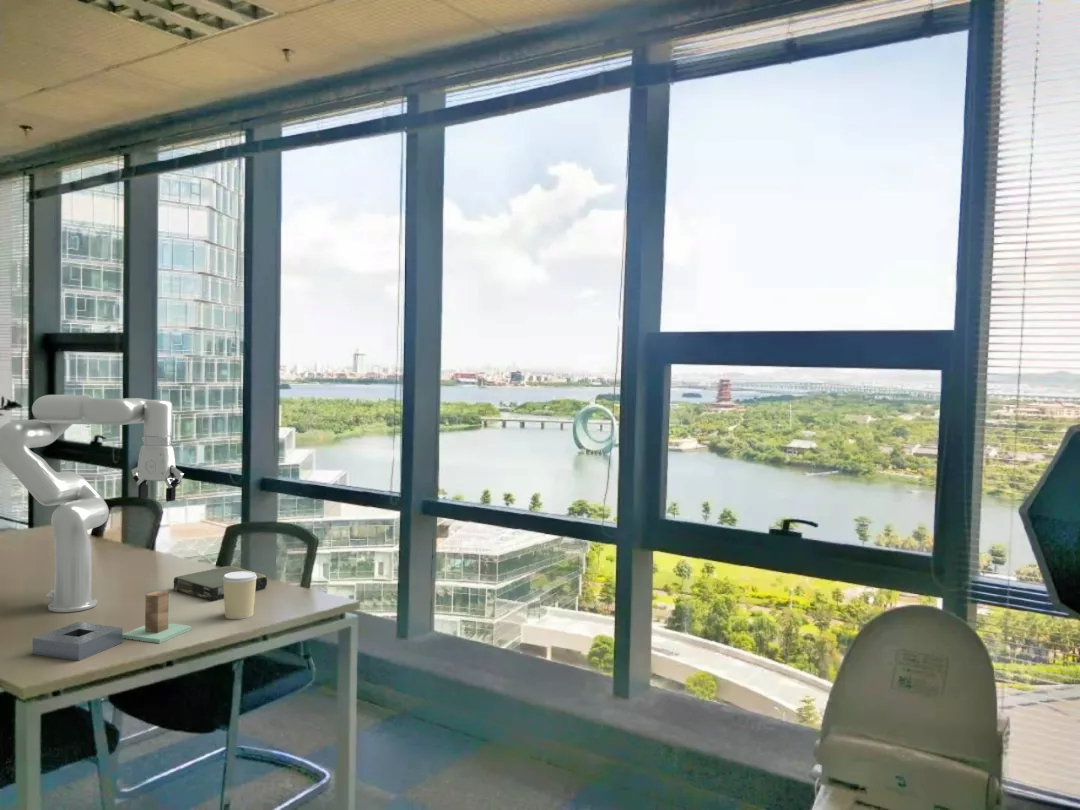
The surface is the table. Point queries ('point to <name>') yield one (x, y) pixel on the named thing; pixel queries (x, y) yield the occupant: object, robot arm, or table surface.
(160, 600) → the walnut peg
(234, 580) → the coffee cup
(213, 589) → the network switch
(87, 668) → the table surface
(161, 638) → the green pad
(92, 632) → the hole block
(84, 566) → the robot arm
